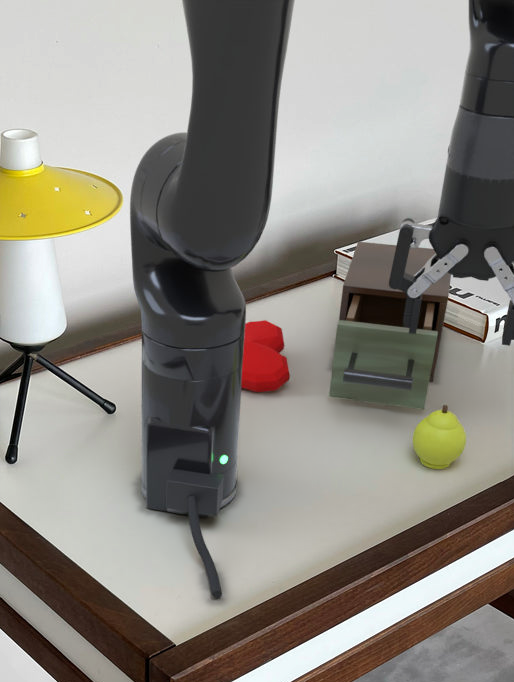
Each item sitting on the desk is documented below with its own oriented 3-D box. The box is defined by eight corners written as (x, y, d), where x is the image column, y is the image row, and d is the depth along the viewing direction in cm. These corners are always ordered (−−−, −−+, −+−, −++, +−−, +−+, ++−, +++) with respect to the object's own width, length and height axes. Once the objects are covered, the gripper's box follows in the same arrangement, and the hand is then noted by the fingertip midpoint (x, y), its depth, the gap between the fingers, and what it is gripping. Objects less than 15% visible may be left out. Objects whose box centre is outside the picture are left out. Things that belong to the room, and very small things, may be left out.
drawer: (420, 435, 106) (434, 359, 101) (321, 421, 109) (330, 346, 104) (431, 356, 121) (443, 287, 116) (344, 346, 124) (352, 277, 119)
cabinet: (432, 382, 118) (448, 296, 112) (333, 369, 121) (343, 285, 115) (439, 330, 129) (454, 250, 123) (348, 320, 132) (358, 241, 126)
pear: (460, 478, 101) (472, 421, 97) (407, 470, 102) (417, 414, 99) (462, 452, 105) (473, 396, 101) (410, 445, 106) (420, 389, 103)
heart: (204, 406, 117) (291, 399, 116) (201, 377, 114) (291, 369, 113) (200, 346, 125) (281, 338, 124) (197, 317, 122) (280, 309, 121)
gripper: (403, 168, 85) (378, 344, 95) (583, 182, 82) (539, 363, 91) (410, 144, 91) (386, 312, 100) (578, 156, 88) (537, 329, 97)
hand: (459, 336), depth 96 cm, fingers open, 8 cm apart
